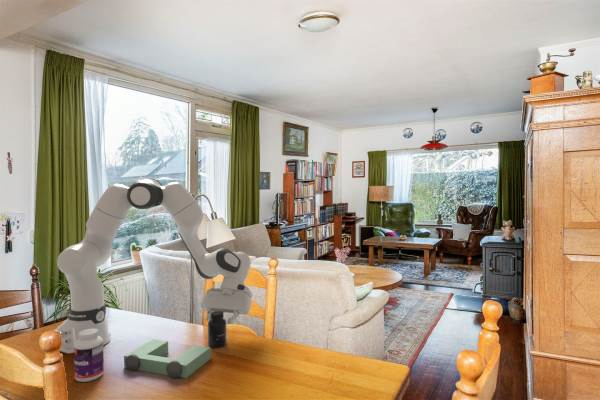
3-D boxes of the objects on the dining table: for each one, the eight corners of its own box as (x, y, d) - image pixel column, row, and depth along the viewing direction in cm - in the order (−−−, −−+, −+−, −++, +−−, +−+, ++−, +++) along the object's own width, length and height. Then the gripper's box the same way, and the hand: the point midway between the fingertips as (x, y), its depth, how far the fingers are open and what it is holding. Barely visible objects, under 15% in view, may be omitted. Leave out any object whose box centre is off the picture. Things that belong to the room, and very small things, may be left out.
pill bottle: (68, 380, 117) (66, 334, 117) (91, 369, 125) (90, 325, 124) (87, 385, 114) (85, 338, 114) (109, 373, 122) (108, 328, 121)
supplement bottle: (222, 349, 138) (221, 316, 138) (204, 347, 140) (204, 315, 139) (229, 341, 145) (228, 310, 145) (212, 340, 146) (212, 309, 146)
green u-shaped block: (121, 369, 124) (121, 354, 124) (153, 350, 138) (152, 336, 138) (184, 380, 116) (183, 363, 116) (210, 358, 131) (210, 344, 131)
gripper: (205, 283, 154) (191, 315, 145) (251, 287, 147) (239, 320, 138) (211, 291, 158) (198, 323, 149) (256, 295, 151) (245, 328, 143)
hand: (218, 322), depth 144 cm, fingers open, 8 cm apart
